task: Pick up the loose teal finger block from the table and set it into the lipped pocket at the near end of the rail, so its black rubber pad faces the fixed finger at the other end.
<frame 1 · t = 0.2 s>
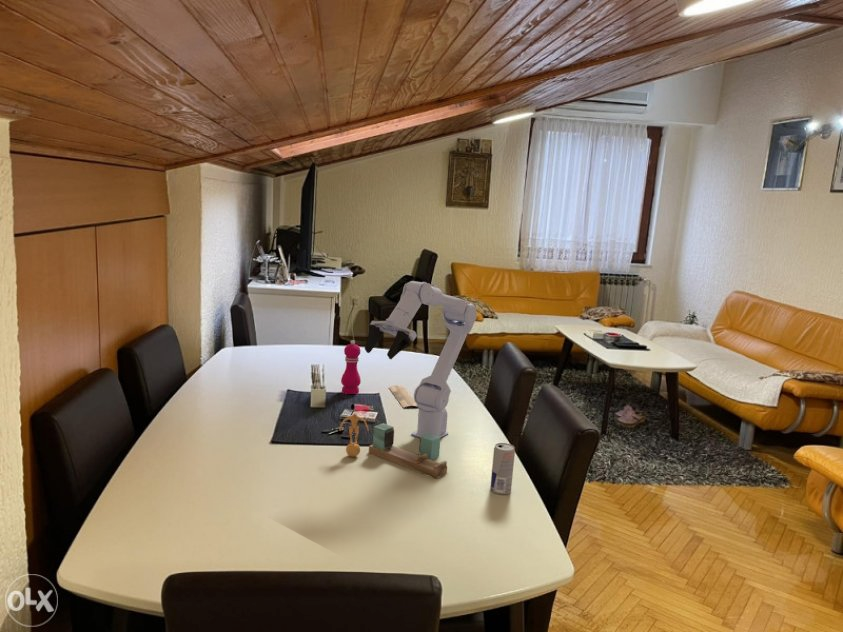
hand: (377, 353, 170), 31 cm above the table, tool tilted 45°, fingers open, 7 cm apart
figurine: (352, 455, 179), on the table
finger block: (429, 456, 182), on the table
rail: (406, 462, 177), on the table
tan flat bar: (402, 400, 233), on the table
pepper mill: (350, 392, 235), on the table
energy drink: (500, 491, 163), on the table
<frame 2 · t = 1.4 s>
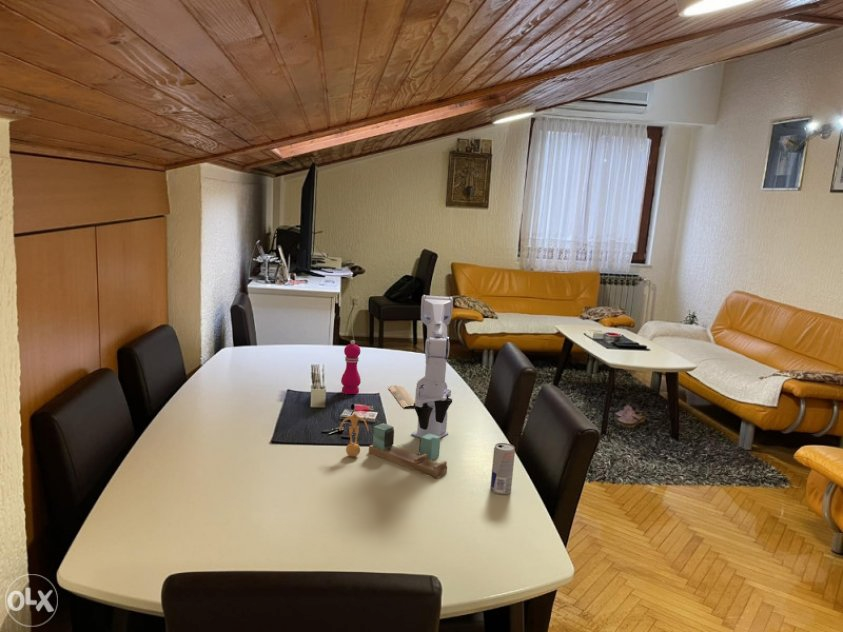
hand: (431, 425, 180), 9 cm above the table, tool pointing down, fingers open, 7 cm apart
nothing on the table moved.
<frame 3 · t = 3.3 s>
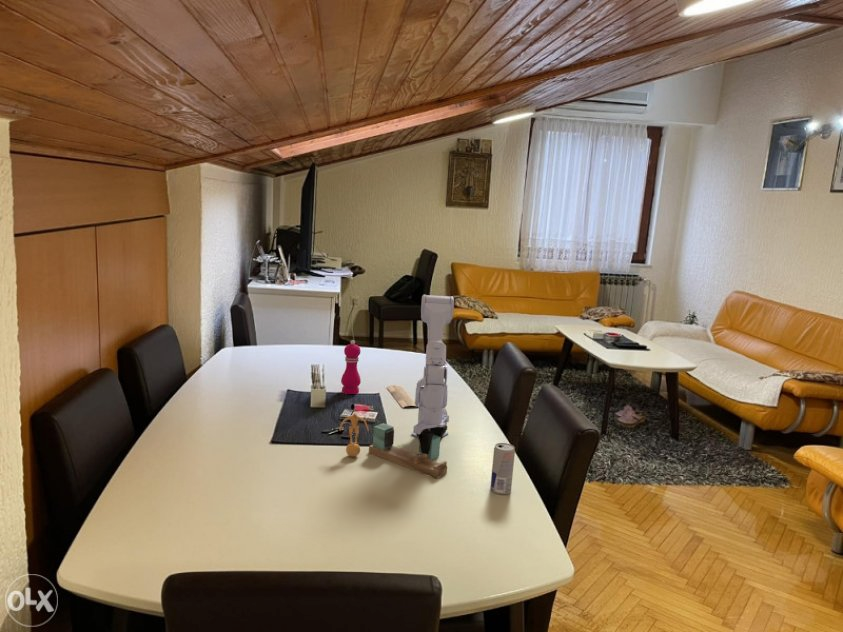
hand: (429, 451, 181), 2 cm above the table, tool pointing down, fingers closed on finger block, 4 cm apart
finger block: (429, 456, 182), on the table, touching gripper
everything else where it was.
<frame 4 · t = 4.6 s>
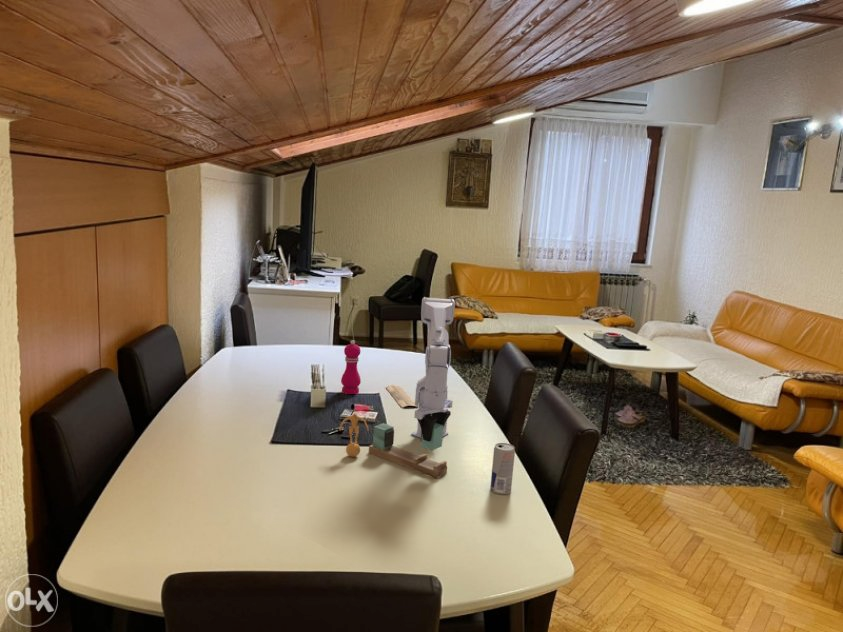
hand: (431, 438, 170), 9 cm above the table, tool pointing down, fingers closed on finger block, 4 cm apart
finger block: (431, 446, 171), point 7 cm above the table, touching gripper
everything else where it was.
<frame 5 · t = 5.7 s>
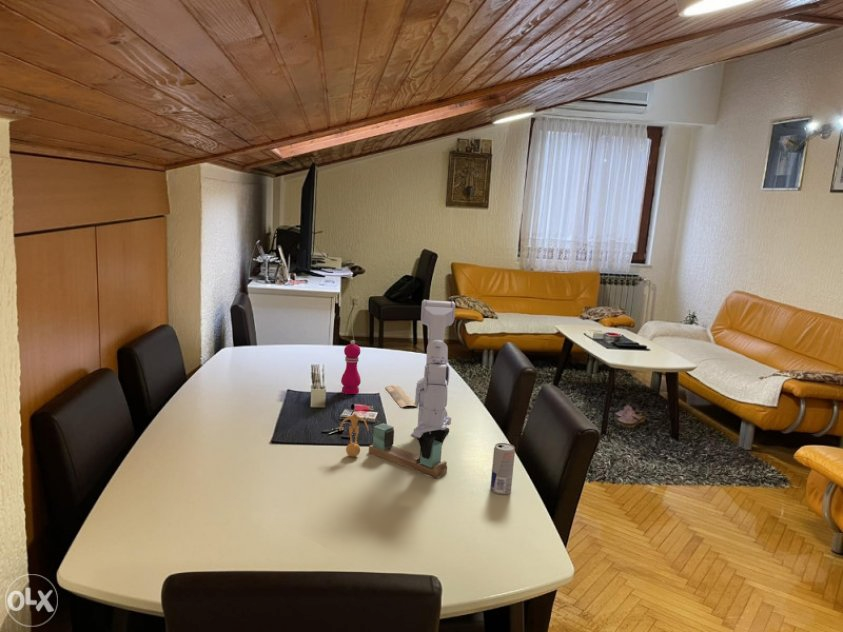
hand: (430, 455, 171), 5 cm above the table, tool pointing down, fingers closed on finger block, 4 cm apart
finger block: (430, 463, 172), point 2 cm above the table, touching gripper
when the fingers open (5 cm above the table, at t = 6.3 s): finger block stays where it is, resting on rail.
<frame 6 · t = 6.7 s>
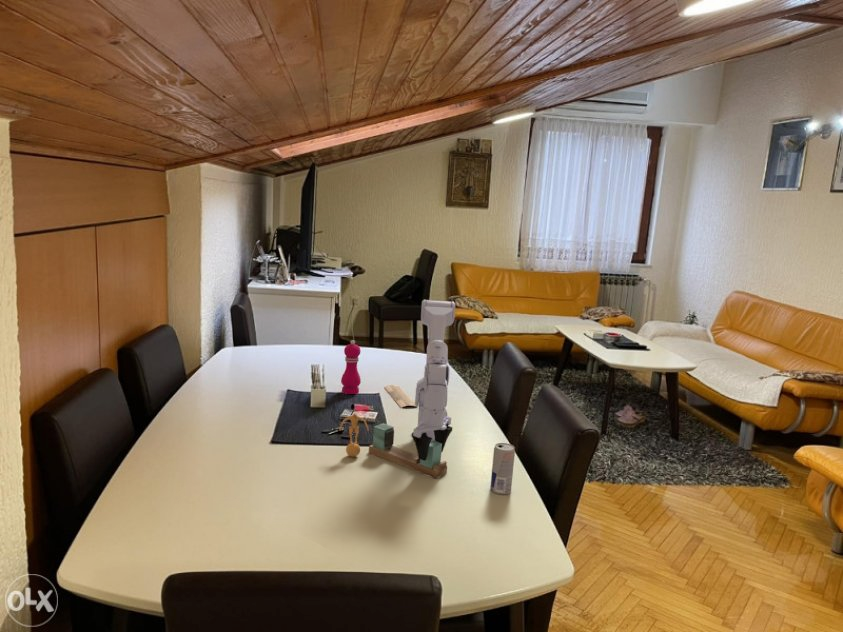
hand: (430, 455, 171), 5 cm above the table, tool pointing down, fingers open, 7 cm apart
finger block: (430, 464, 172), point 2 cm above the table, touching rail
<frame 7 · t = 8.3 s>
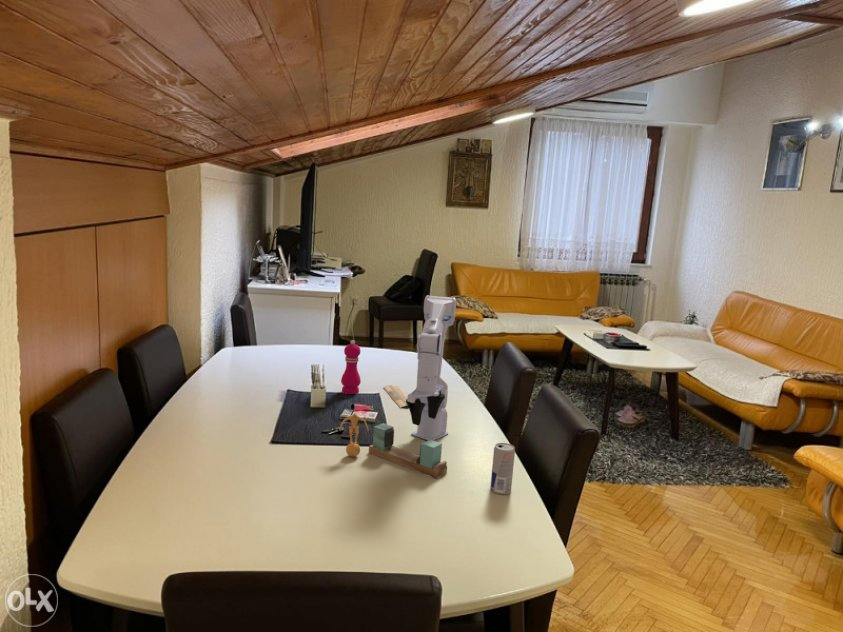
hand: (424, 421, 180), 10 cm above the table, tool pointing down, fingers open, 7 cm apart
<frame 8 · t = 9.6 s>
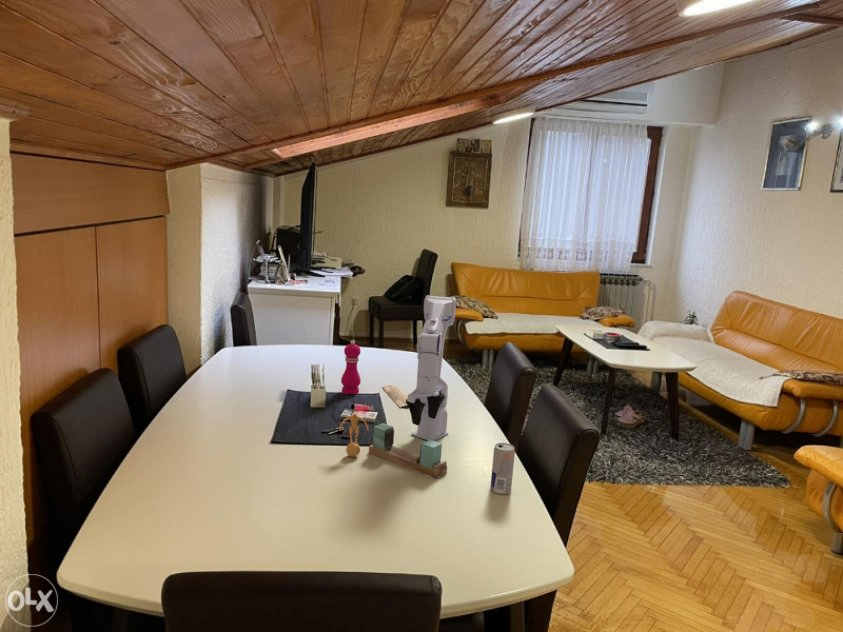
hand: (424, 421, 180), 10 cm above the table, tool pointing down, fingers open, 7 cm apart
at the end: finger block 0.1 cm from the target spot on the rail, point 2.0 cm above the rail's base; finger block tilted 0°; the gripper is holding nothing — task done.
